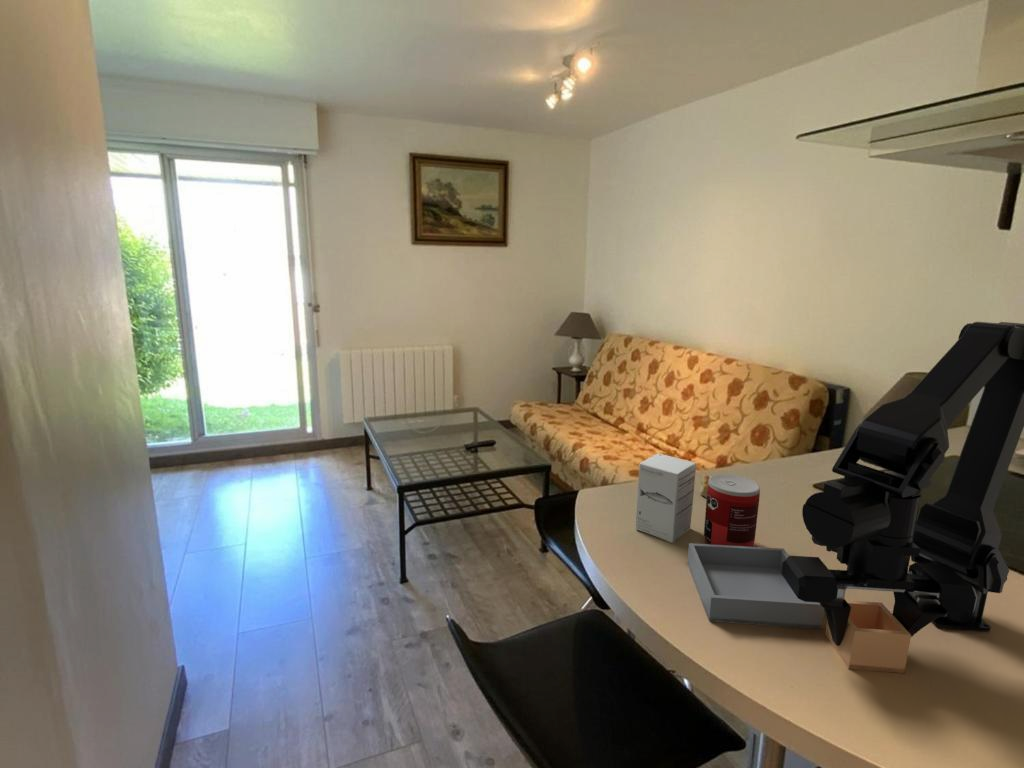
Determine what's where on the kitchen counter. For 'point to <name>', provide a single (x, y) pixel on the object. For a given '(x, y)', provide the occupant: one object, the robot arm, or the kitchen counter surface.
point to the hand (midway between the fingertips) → (863, 645)
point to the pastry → (704, 485)
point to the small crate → (873, 639)
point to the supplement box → (665, 496)
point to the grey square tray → (748, 587)
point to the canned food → (731, 510)
